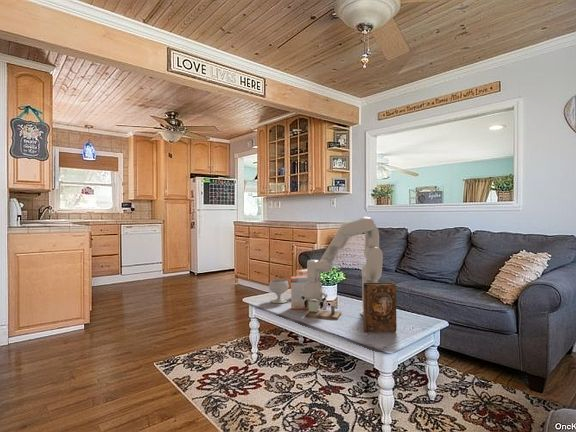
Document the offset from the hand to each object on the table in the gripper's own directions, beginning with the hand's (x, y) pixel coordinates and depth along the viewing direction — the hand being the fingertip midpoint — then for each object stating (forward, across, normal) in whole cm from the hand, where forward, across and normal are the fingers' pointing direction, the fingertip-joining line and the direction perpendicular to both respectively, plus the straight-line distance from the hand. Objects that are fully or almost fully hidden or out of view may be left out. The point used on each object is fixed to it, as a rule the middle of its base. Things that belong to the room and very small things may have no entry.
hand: (313, 307), depth 216 cm
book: (+4, -41, +18) cm, 45 cm away
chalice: (+4, +32, -23) cm, 40 cm away
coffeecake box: (+5, +19, -48) cm, 52 cm away
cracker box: (+4, +11, -11) cm, 16 cm away
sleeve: (+3, 0, 0) cm, 3 cm away
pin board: (+4, -6, 0) cm, 7 cm away
